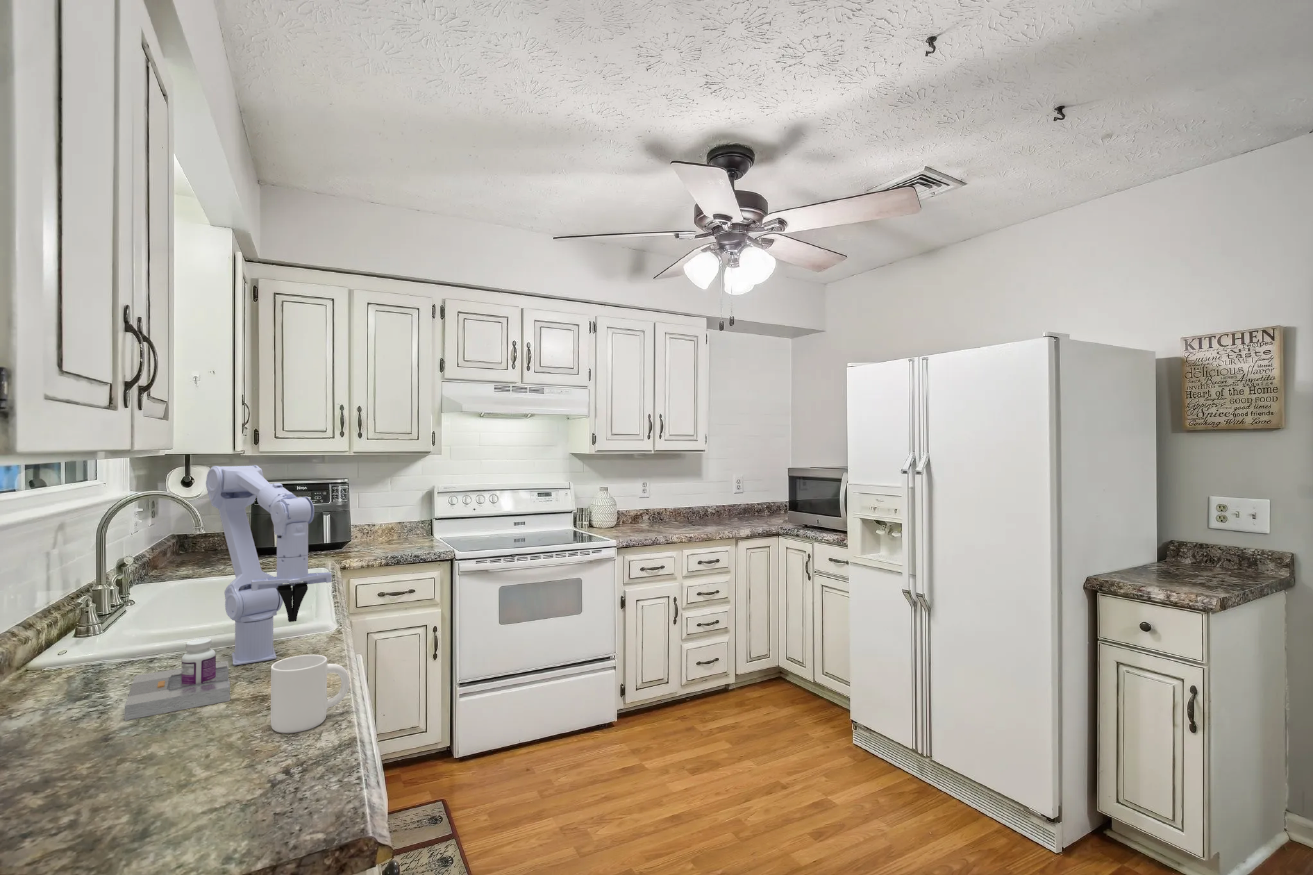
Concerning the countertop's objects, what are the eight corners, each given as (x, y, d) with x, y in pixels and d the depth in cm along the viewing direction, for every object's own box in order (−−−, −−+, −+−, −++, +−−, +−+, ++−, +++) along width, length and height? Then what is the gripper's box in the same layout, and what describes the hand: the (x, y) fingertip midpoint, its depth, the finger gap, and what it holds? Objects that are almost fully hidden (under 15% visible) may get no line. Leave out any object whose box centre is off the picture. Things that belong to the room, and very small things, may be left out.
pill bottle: (213, 684, 127) (214, 635, 127) (217, 691, 123) (218, 641, 123) (179, 691, 123) (180, 640, 123) (182, 699, 119) (183, 646, 119)
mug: (343, 704, 116) (344, 647, 117) (355, 719, 110) (355, 658, 110) (267, 722, 109) (267, 660, 109) (274, 739, 103) (275, 674, 103)
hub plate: (134, 688, 125) (135, 674, 125) (227, 672, 133) (228, 659, 133) (124, 720, 110) (124, 704, 110) (229, 700, 118) (230, 685, 118)
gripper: (252, 561, 127) (252, 630, 127) (333, 554, 136) (333, 619, 135) (251, 557, 133) (250, 623, 133) (328, 550, 141) (328, 612, 141)
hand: (292, 620), depth 135 cm, fingers closed
